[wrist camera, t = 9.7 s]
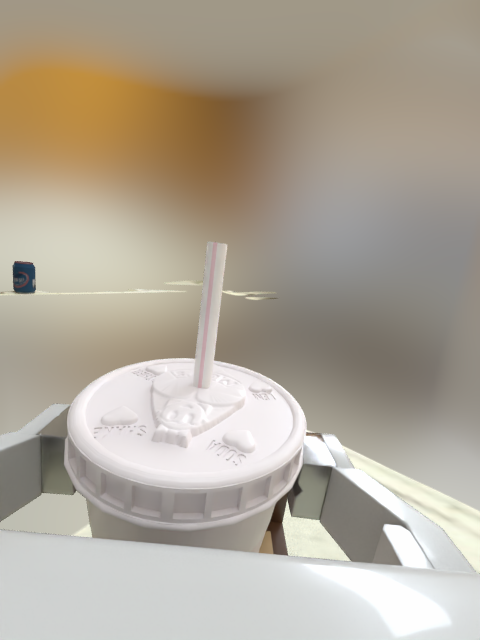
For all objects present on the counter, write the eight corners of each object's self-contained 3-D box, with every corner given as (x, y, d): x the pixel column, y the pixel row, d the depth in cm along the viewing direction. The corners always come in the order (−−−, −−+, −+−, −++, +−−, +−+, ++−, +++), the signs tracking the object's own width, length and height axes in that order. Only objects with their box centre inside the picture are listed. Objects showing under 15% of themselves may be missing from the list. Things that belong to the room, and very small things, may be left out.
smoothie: (261, 566, 13) (319, 260, 10) (251, 862, 6) (403, 249, 3) (130, 536, 13) (148, 238, 10) (2, 779, 7) (-43, 194, 4)
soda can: (9, 292, 105) (8, 261, 103) (19, 290, 112) (18, 260, 109) (30, 294, 107) (29, 263, 104) (39, 292, 113) (38, 263, 111)
